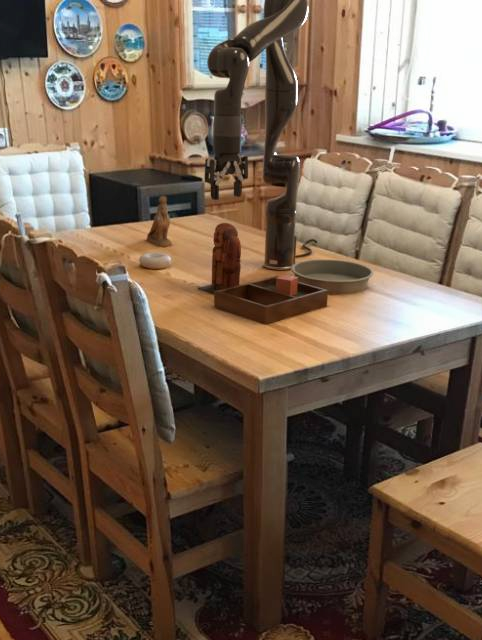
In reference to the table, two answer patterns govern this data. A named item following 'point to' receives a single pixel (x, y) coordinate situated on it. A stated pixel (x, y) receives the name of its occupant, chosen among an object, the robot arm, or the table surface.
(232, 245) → the wooden figurine
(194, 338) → the table surface
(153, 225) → the worn brown figurine
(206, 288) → the rubber mat
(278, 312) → the walnut tray
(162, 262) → the donut
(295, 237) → the robot arm
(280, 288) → the terracotta block
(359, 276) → the cake pan
